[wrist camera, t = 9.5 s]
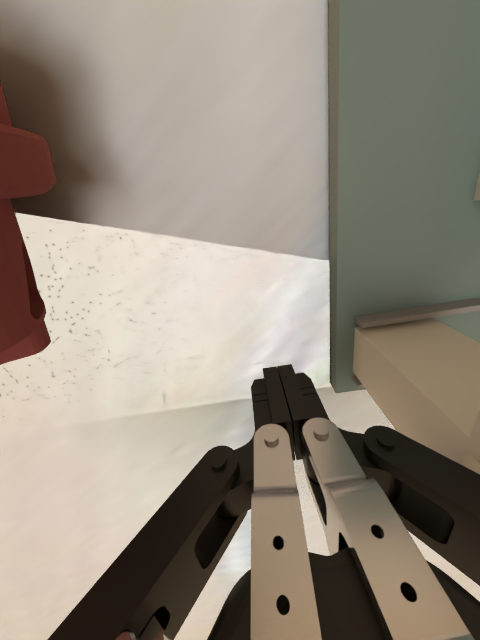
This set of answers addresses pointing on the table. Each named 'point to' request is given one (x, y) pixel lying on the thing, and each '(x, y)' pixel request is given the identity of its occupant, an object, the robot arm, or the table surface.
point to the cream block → (425, 384)
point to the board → (402, 169)
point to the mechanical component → (20, 239)
